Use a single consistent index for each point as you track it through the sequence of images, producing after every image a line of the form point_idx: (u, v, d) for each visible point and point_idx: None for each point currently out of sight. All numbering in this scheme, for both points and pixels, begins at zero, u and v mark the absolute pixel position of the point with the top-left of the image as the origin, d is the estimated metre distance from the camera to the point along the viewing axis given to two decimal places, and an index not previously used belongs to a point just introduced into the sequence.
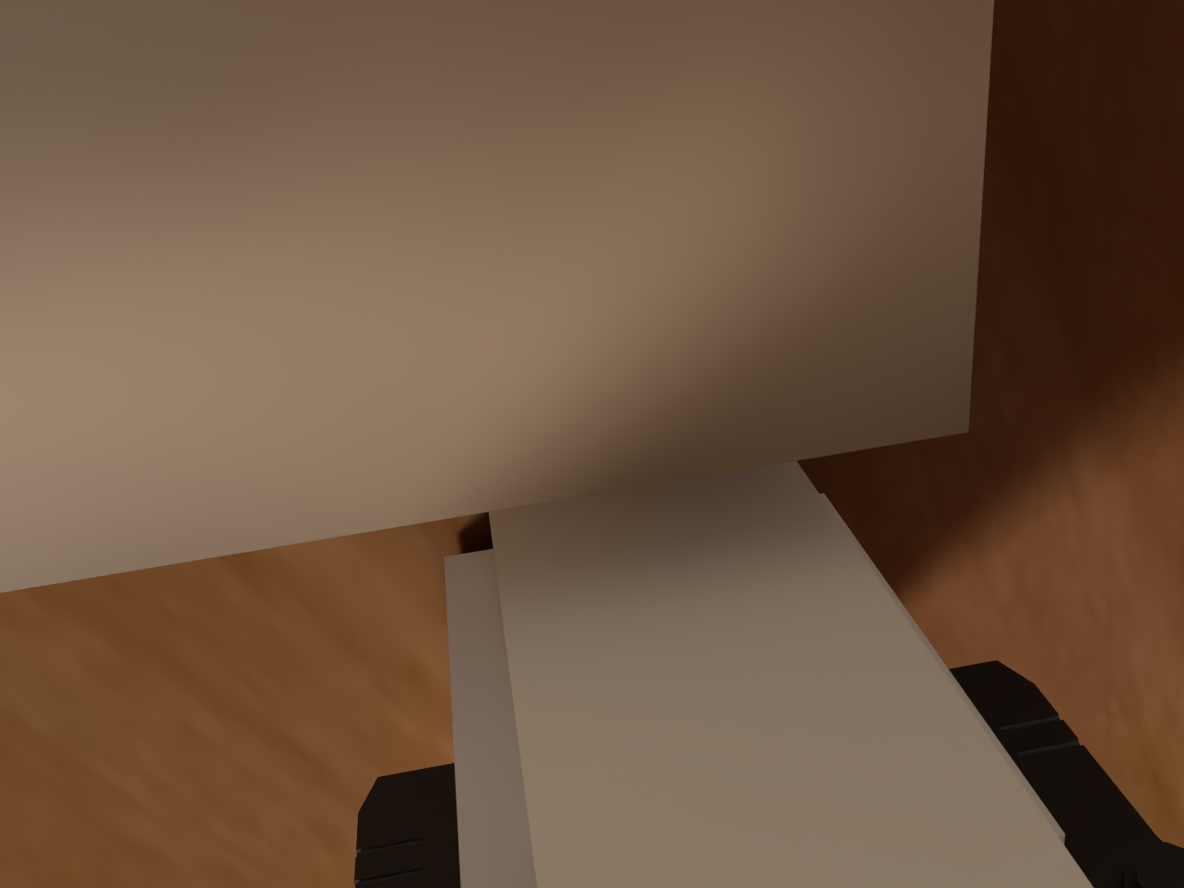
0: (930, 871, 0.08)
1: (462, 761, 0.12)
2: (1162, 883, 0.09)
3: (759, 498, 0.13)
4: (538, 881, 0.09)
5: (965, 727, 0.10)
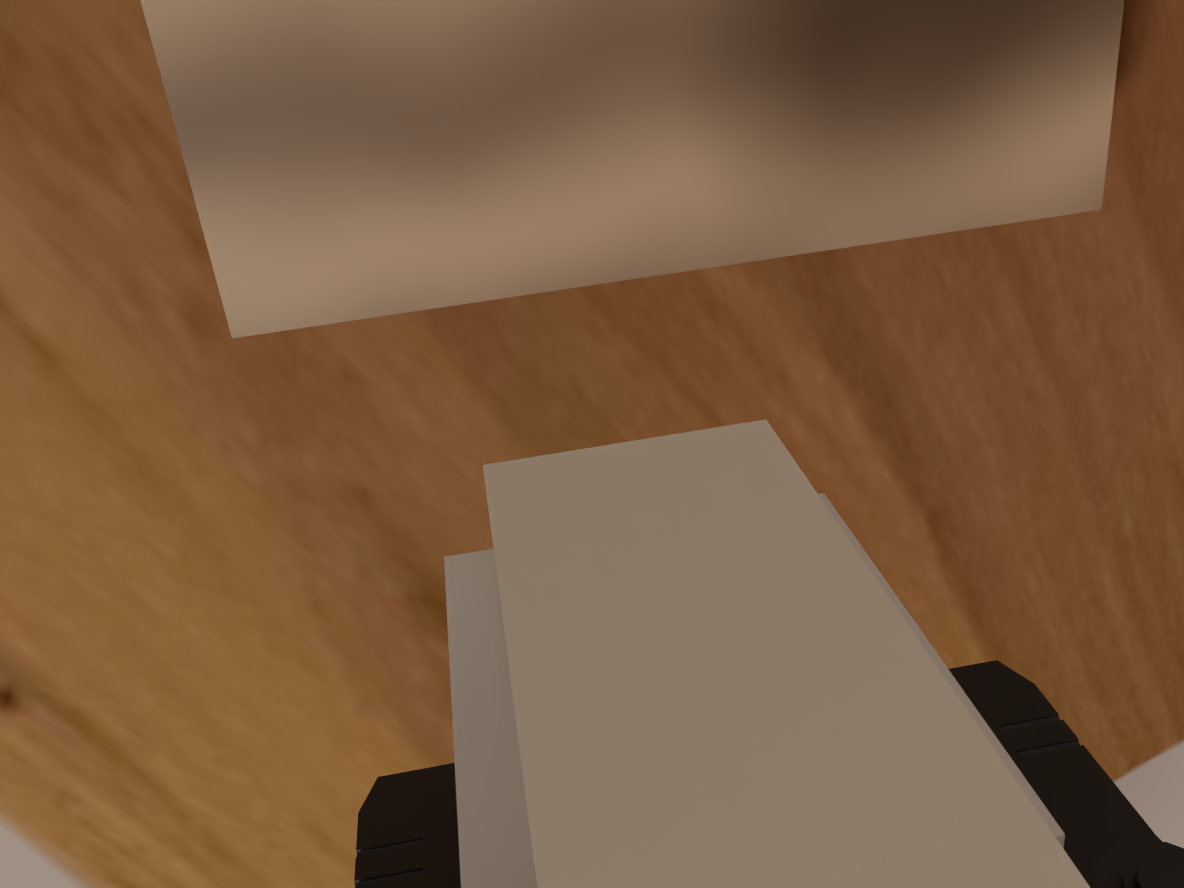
0: (931, 876, 0.08)
1: (462, 761, 0.12)
2: (1162, 883, 0.09)
3: (758, 501, 0.13)
4: (539, 886, 0.09)
5: (965, 731, 0.10)
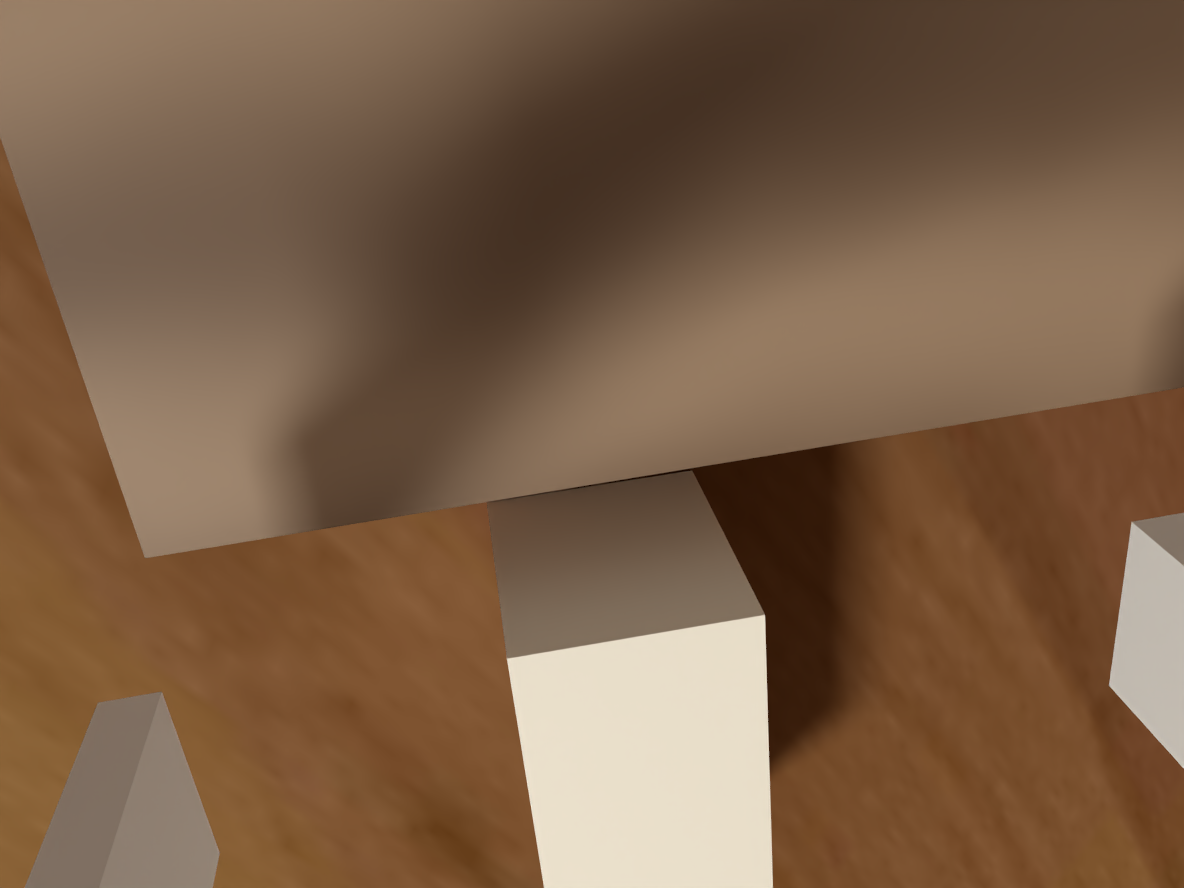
0: None
1: None
2: None
3: (724, 729, 0.18)
4: None
5: None
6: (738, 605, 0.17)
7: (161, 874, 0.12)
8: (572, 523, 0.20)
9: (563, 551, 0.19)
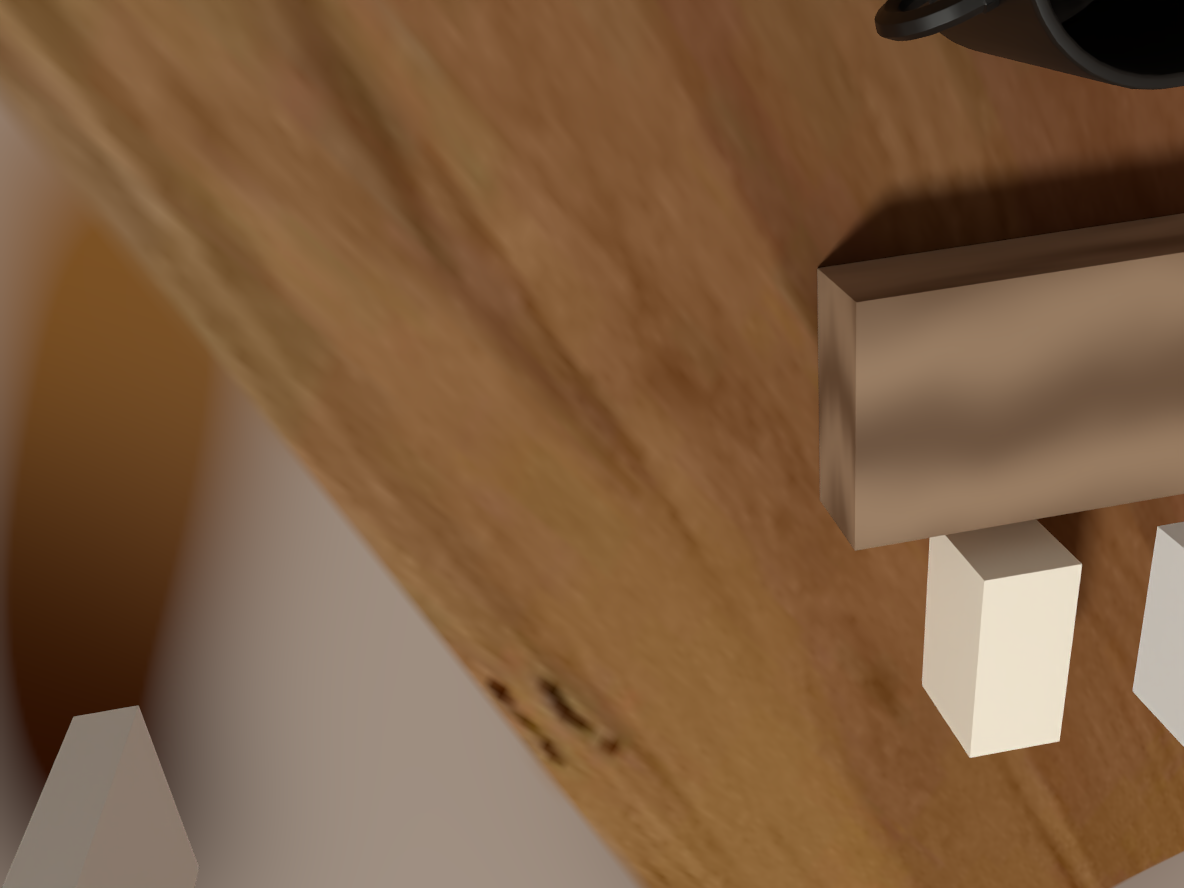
0: (1038, 724, 0.46)
1: None
2: None
3: (1059, 611, 0.43)
4: (973, 725, 0.45)
5: (1062, 695, 0.45)
6: (1069, 560, 0.43)
7: None
8: None
9: (981, 539, 0.45)
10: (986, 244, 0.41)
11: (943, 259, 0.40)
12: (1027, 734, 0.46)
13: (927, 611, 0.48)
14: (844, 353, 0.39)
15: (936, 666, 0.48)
